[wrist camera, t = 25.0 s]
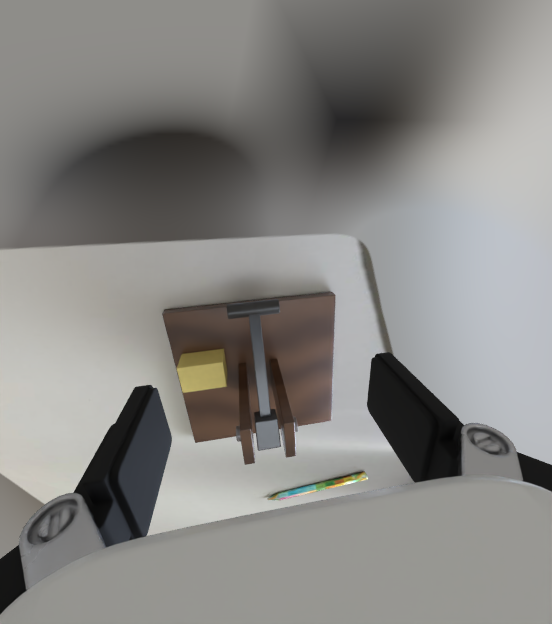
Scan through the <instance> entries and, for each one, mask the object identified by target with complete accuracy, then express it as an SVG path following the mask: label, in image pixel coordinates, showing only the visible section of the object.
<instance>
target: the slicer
mask: <svg viewBox="0 0 552 624" xmlns="http://www.w3.org/2000/svg"><path fill="white" fill-rule="evenodd" d="M272 299H278V300H279V304H280V313H279V314H270V315H261V316H260V319H261V328H262V337H263V346H264V355H265V364H266V373H267V382H268V391H269V400H270V409H275V411H276V414H277V418H278V425H279V429H280V430H281V435H282V440H283V445H284V450H285V455H286V457H292V456H296V444H295V432H297V431H298V426H301V425H308V424H314V423H320V422H326V421H331V419H332V387H333V355H334V322H335V294H334V293H333V292H327V293H318V294H309V295H299V296H290V297H281V298H271V299H262V300H272ZM262 300H253V301H262ZM253 301H243V302H234V303H225V304H216V305H206V306H197V307H188V308H178V309H169V310H165V311H164V312H163V318H164V322H165V326H166V330H167V334H168V338H169V342H170V346H171V350H172V353H173V357H174V361H175V365H176V369H177V366H178V363H179V360H180V358H181V355H182V354H186V353H194V352H202V351H210V350H218V349H224V353H225V360H226V366H227V387H221V388H214V389H207V390H200V391H193V392H186V393H183V392H182V393H183V397H184V400H185V404H186V408H187V412H188V416H189V420H190V424H191V428H192V432H193V436H194V440H195V443H197V442H203V441H209V440H216V439H222V438H228V437H234V436H236V438H237V441H241V444H242V450H243V456H244V463H245V465H246V464H252V463H255V454H254V441H253V433H256V429H255V418H254V412H258V411H259V403H258V395H257V386H256V377H255V368H254V359H253V351H252V342H251V333H250V324H249V317H244V318H235V319H228V315H227V304H235V303H244V302H253ZM177 373H178V372H177ZM178 377H179V376H178ZM179 381H180V380H179ZM180 385H181V384H180ZM181 389H182V388H181Z"/></svg>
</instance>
